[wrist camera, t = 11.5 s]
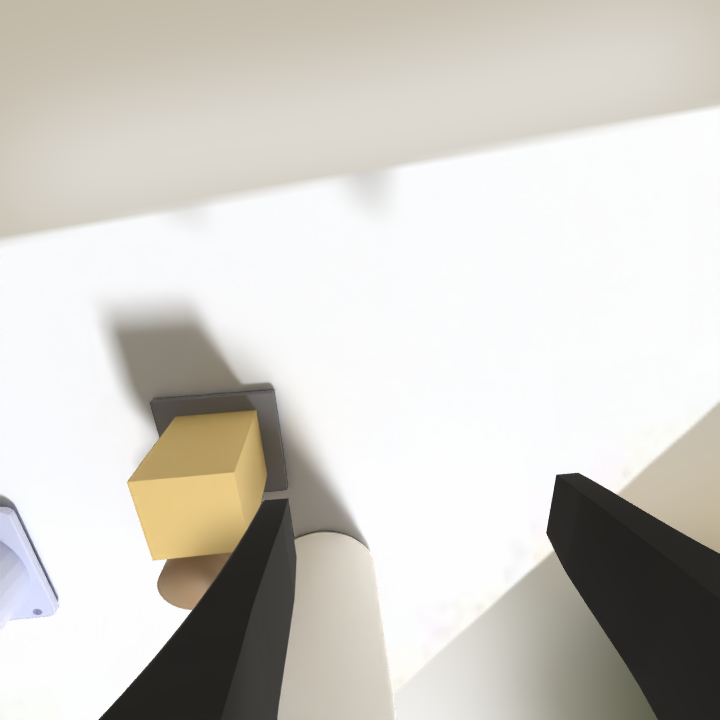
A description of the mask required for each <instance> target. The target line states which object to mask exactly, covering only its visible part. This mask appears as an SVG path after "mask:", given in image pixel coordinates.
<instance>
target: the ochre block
mask: <svg viewBox="0 0 720 720" xmlns="http://www.w3.org/2000/svg"><path fill="white" fill-rule="evenodd" d="M266 478H267V470H266V464H265V458H264V452H263V446H262V440H261V434H260V428H259V422H258V416H257V410H250V411H238V412H226V413H214V414H202V415H190V416H177V417H175V418H174V419H173V421H172V422H171V423H170V425H169V426H168V427H167V429H166V430H165V432H164V433H163V434H162V436H161V437H160V438H159V440H158V441H157V442H156V444H155V445H154V446H153V448H152V449H151V450H150V452H149V453H148V454H147V456H146V457H145V458H144V460H143V461H142V462H141V464H140V465H139V467H138V468H137V469H136V471H135V472H134V473H133V475H132V476H131V477H130V479H129V480H128V481H127V484H128V487H129V490H130V493H131V496H132V499H133V502H134V505H135V508H136V511H137V514H138V517H139V520H140V523H141V526H142V529H143V532H144V535H145V538H146V541H147V544H148V547H149V550H150V553H151V556H152V559H153V560H163V559H172V558H182V557H192V556H201V555H211V554H221V553H230V552H233V551H234V549H235V548H236V546H237V545H238V543H239V542H240V540H241V538H242V537H243V535H244V533H245V532H246V530H247V528H248V527H249V525H250V523H251V522H252V520H253V518H254V516H255V514H256V513H257V511H258V509H259V507H260V505H261V501H262V496H263V492H264V487H265V483H266Z"/></svg>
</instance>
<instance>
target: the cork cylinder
mask: <svg viewBox="0 0 720 720" xmlns="http://www.w3.org/2000/svg"><path fill="white" fill-rule="evenodd" d="M232 553H233V552H230V553H221V554H211V555H201V556H192V557H182V558H172V559H167V561H166V563H165V565H164V567H163V570H162V572H161V574H160V576H159V578H158V582H157V587H158V591H159V593H160V595H161V596H162V597H163V598H164V599H165V600H166V601H167V602H168V603H170V604H172V605H174V606H176V607H179V608H183V609H189V610H193V609H194V607H195V606H196V605H197V603H198V602H199V600H200V599H201V598H202V596H203V595H204V594H205V592H206V591H207V589H208V588H209V587H210V585H211V584H212V582H213V581H214V580H215V578H216V577H217V575H218V574H219V572H220V571H221V569H222V568H223V566H224V565H225V563H226V562H227V560H228V559H229V557H230V556H231V554H232Z"/></svg>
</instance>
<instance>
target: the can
mask: <svg viewBox="0 0 720 720" xmlns="http://www.w3.org/2000/svg"><path fill="white" fill-rule="evenodd" d="M294 542H295V549H296V556H297V561H296V583H295V600H294V607H293V614H292V621H291V627H290V634H289V641H288V648H287V654H286V661H285V667H284V674H283V681H282V687H281V694H280V701H279V708H278V717H277V720H397V718H396V711H395V704H394V696H393V689H392V682H391V674H390V667H389V660H388V653H387V646H386V638H385V631H384V624H383V617H382V610H381V603H380V596H379V589H378V582H377V576H376V569H375V564H374V560H373V557H372V555H371V553H370V552H369V550H368V549H367V548H366V547H365V546H364V545H363V544H362V543H360V542H359V541H357V540H356V539H354V538H352V537H351V536H348V535H346V534H343V533H339V532H333V531H319V532H313V533H309V534H306V535H303V536H301V537H299V538H297V539H295V540H294Z"/></svg>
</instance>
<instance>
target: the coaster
mask: <svg viewBox="0 0 720 720" xmlns="http://www.w3.org/2000/svg"><path fill="white" fill-rule="evenodd" d="M150 405H151V408H152V412H153V416H154V419H155V423H156V427H157V430H158V434H159V438H160V437H161V436H162V434H163V433H164V432H165V430H166V429H167V427H168V426H169V425H170V423H171V422H172V421H173V419H174V418H175V417H177V416H190V415H202V414H214V413H226V412H238V411H250V410H257V416H258V422H259V428H260V434H261V440H262V446H263V452H264V458H265V464H266V470H267V478H266V483H265V487H264V492H271V491H282V490H287V488H288V482H287V475H286V468H285V461H284V454H283V447H282V440H281V433H280V425H279V418H278V411H277V404H276V397H275V390H261V391H248V392H235V393H222V394H209V395H196V396H183V397H170V398H157V399H153V400H152V401H151V402H150Z"/></svg>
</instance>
